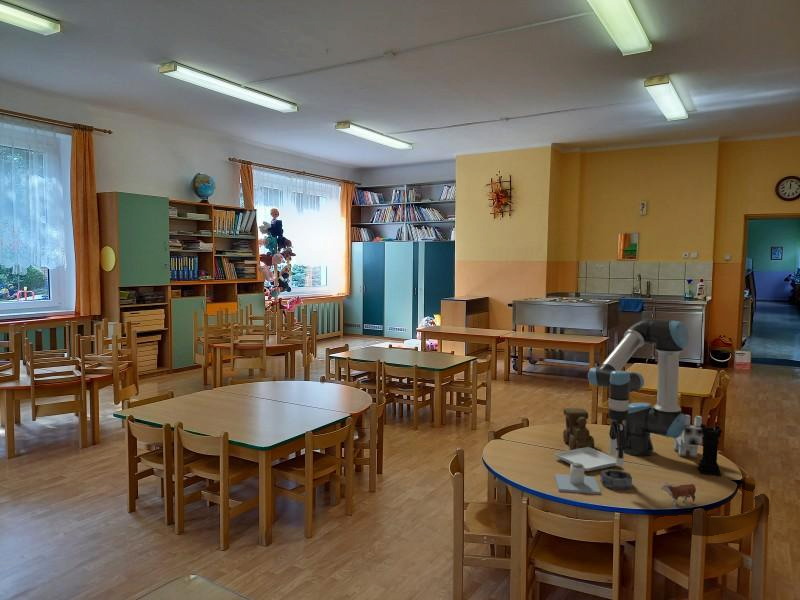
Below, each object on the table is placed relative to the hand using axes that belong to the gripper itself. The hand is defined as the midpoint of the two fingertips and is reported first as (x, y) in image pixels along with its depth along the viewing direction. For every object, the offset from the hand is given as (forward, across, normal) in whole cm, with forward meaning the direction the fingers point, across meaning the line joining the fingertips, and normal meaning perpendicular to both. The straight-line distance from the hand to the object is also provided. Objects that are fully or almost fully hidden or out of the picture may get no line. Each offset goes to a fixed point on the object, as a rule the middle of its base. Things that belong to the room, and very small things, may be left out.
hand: (616, 460), depth 236 cm
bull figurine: (+10, +15, +20) cm, 27 cm away
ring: (+10, 0, 0) cm, 10 cm away
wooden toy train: (+10, -47, -9) cm, 49 cm away
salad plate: (+11, -23, -8) cm, 27 cm away
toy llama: (+9, -44, +40) cm, 61 cm away
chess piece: (+10, -22, +43) cm, 50 cm away
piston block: (+10, +4, -16) cm, 19 cm away
